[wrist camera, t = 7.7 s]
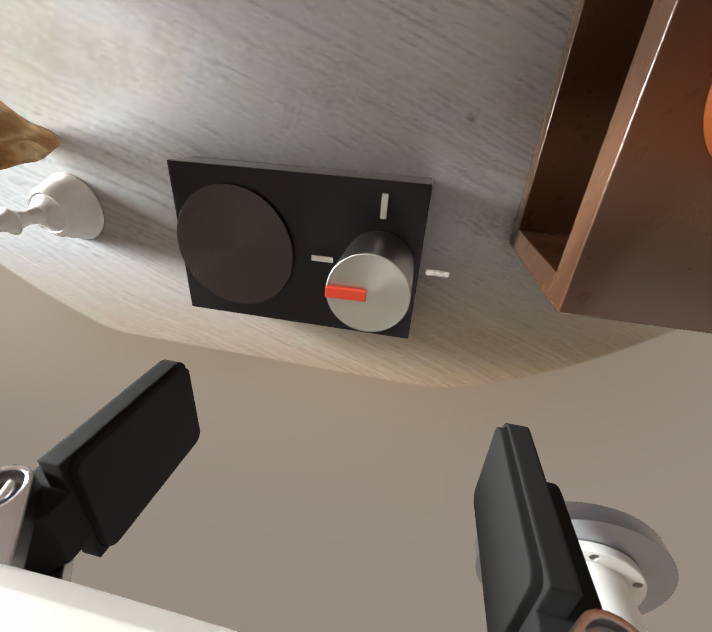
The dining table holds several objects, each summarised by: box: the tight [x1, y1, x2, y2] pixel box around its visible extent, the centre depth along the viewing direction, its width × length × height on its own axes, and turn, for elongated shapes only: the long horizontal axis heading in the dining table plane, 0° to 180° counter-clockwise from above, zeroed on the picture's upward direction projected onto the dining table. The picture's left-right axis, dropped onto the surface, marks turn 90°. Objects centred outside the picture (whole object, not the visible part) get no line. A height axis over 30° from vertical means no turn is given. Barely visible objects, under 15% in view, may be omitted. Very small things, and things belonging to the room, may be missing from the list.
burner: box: [177, 183, 294, 304], centre depth 23 cm, size 8×8×1 cm
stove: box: [167, 156, 449, 338], centre depth 24 cm, size 10×18×3 cm, turn 86°
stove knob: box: [325, 231, 414, 332], centre depth 20 cm, size 4×4×5 cm
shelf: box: [510, 0, 712, 333], centre depth 14 cm, size 16×9×10 cm, turn 176°
